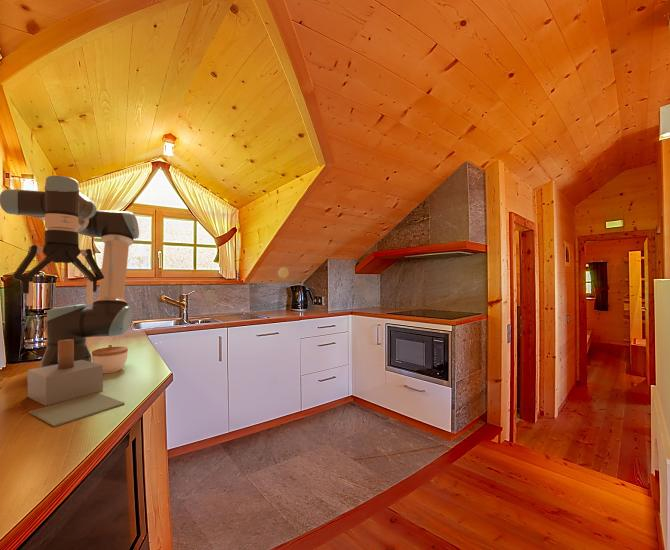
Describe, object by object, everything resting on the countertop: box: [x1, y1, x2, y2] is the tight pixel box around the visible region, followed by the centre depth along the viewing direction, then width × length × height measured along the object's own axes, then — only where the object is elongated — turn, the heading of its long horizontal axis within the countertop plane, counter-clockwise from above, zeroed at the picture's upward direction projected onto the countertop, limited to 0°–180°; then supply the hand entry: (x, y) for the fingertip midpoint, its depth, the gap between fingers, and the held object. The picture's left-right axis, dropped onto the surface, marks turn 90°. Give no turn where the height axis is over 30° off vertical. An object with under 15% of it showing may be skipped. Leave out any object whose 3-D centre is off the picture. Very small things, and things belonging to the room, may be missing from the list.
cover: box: [27, 339, 104, 407], centre depth 94 cm, size 13×13×16 cm
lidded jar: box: [91, 344, 129, 374], centre depth 117 cm, size 11×11×9 cm
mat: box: [28, 392, 126, 428], centre depth 83 cm, size 15×15×1 cm
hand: (61, 304), depth 93 cm, fingers open, 13 cm apart
